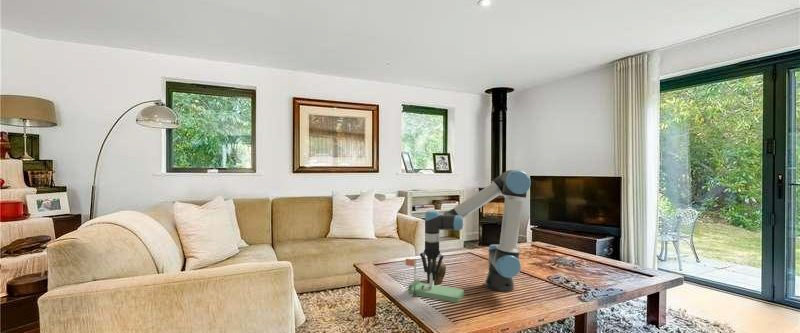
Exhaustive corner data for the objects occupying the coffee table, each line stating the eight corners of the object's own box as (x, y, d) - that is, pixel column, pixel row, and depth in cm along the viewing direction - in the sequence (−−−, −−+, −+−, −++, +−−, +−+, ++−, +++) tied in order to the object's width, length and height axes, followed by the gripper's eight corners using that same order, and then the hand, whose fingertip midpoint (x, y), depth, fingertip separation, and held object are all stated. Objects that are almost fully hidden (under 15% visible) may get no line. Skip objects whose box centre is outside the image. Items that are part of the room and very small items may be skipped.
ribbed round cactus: (445, 286, 183) (445, 264, 183) (425, 284, 186) (425, 263, 186) (446, 279, 194) (446, 259, 194) (427, 278, 196) (427, 258, 196)
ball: (430, 285, 174) (424, 284, 175) (428, 287, 170) (422, 286, 172) (430, 292, 174) (424, 290, 175) (428, 294, 170) (421, 293, 172)
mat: (464, 294, 171) (464, 285, 171) (458, 302, 160) (458, 293, 160) (417, 286, 182) (417, 278, 182) (408, 294, 171) (408, 285, 171)
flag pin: (417, 295, 168) (418, 259, 169) (416, 297, 166) (416, 260, 166) (406, 293, 171) (406, 257, 171) (404, 295, 169) (404, 259, 169)
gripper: (446, 240, 173) (445, 286, 173) (422, 238, 178) (422, 282, 178) (441, 243, 166) (441, 290, 166) (417, 241, 172) (417, 286, 171)
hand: (431, 286), depth 172 cm, fingers closed
